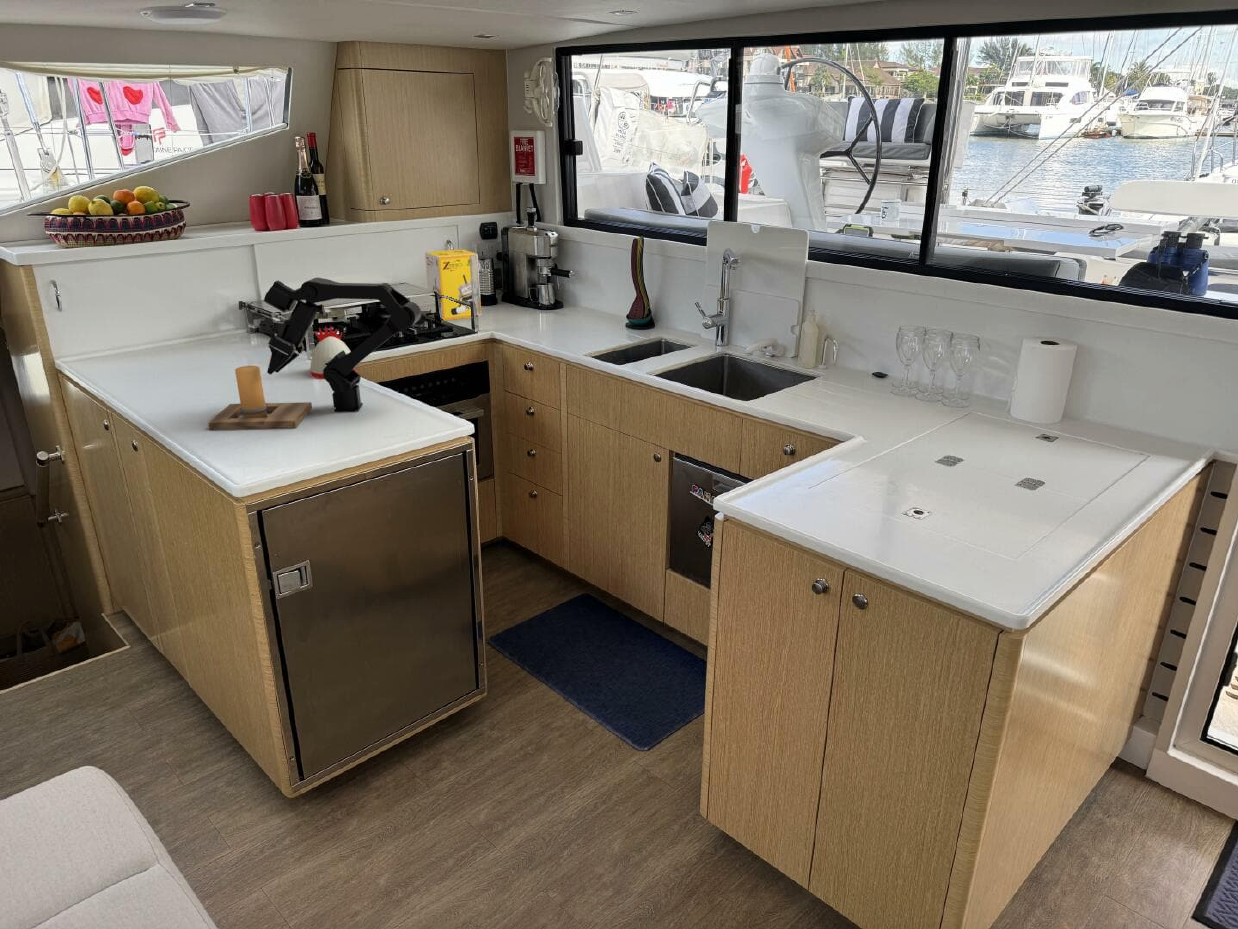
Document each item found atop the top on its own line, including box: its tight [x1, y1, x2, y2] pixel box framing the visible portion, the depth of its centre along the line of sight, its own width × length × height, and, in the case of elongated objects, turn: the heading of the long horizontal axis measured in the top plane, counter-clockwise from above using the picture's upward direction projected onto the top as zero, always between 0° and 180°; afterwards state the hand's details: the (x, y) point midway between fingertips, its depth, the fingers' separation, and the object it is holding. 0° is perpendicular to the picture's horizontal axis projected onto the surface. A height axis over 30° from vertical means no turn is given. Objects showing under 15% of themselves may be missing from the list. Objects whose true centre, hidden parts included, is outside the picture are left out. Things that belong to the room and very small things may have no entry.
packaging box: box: [424, 248, 482, 322], centre depth 354 cm, size 16×16×25 cm
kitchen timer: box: [309, 325, 358, 380], centre depth 274 cm, size 14×14×15 cm
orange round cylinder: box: [234, 365, 268, 418], centre depth 231 cm, size 6×6×14 cm
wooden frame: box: [207, 401, 313, 431], centre depth 234 cm, size 22×16×2 cm
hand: (272, 372), depth 234 cm, fingers open, 9 cm apart
